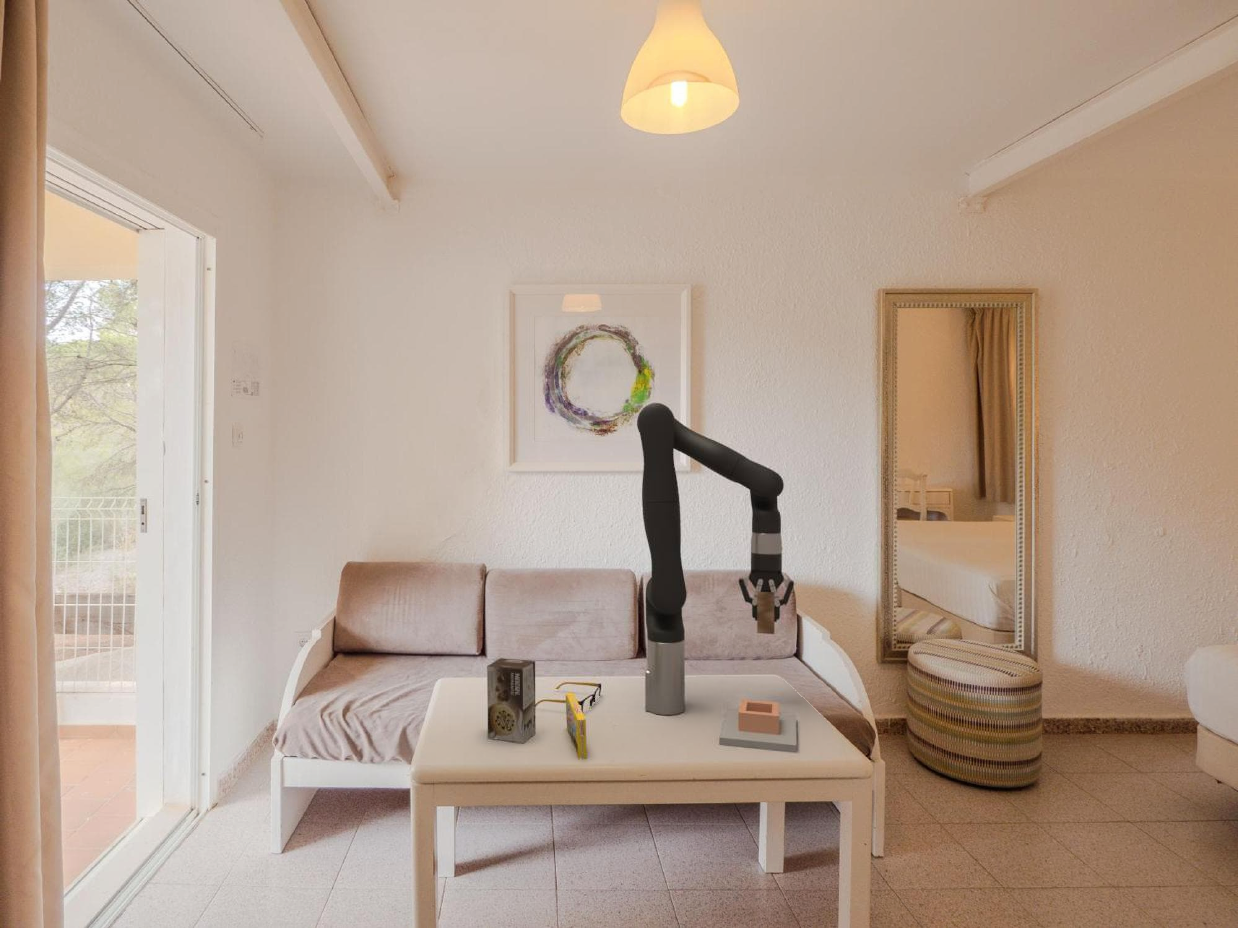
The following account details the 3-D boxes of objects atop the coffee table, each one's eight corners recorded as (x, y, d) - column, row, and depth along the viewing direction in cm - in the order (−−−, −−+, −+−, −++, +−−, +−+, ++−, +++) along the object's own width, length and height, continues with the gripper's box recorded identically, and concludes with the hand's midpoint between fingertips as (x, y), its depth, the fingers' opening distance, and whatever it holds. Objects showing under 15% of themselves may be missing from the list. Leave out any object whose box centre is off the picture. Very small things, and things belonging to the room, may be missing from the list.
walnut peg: (757, 632, 160) (757, 591, 160) (758, 629, 163) (758, 589, 164) (774, 634, 159) (774, 592, 159) (774, 630, 162) (774, 590, 163)
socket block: (719, 744, 140) (719, 718, 140) (727, 714, 157) (727, 691, 157) (796, 752, 136) (796, 725, 136) (796, 720, 153) (795, 697, 153)
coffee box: (536, 732, 146) (536, 660, 146) (523, 744, 140) (523, 668, 140) (500, 727, 149) (500, 656, 149) (486, 738, 143) (486, 664, 143)
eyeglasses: (585, 717, 157) (585, 701, 157) (530, 710, 161) (530, 694, 161) (604, 698, 170) (604, 682, 170) (553, 692, 175) (553, 677, 175)
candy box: (565, 729, 148) (565, 692, 149) (574, 728, 149) (574, 692, 149) (577, 759, 133) (577, 718, 133) (587, 758, 133) (587, 717, 133)
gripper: (735, 551, 160) (735, 622, 159) (796, 553, 156) (795, 625, 156) (738, 548, 167) (738, 615, 167) (795, 550, 163) (795, 619, 163)
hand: (766, 620), depth 161 cm, fingers closed on walnut peg, 4 cm apart
